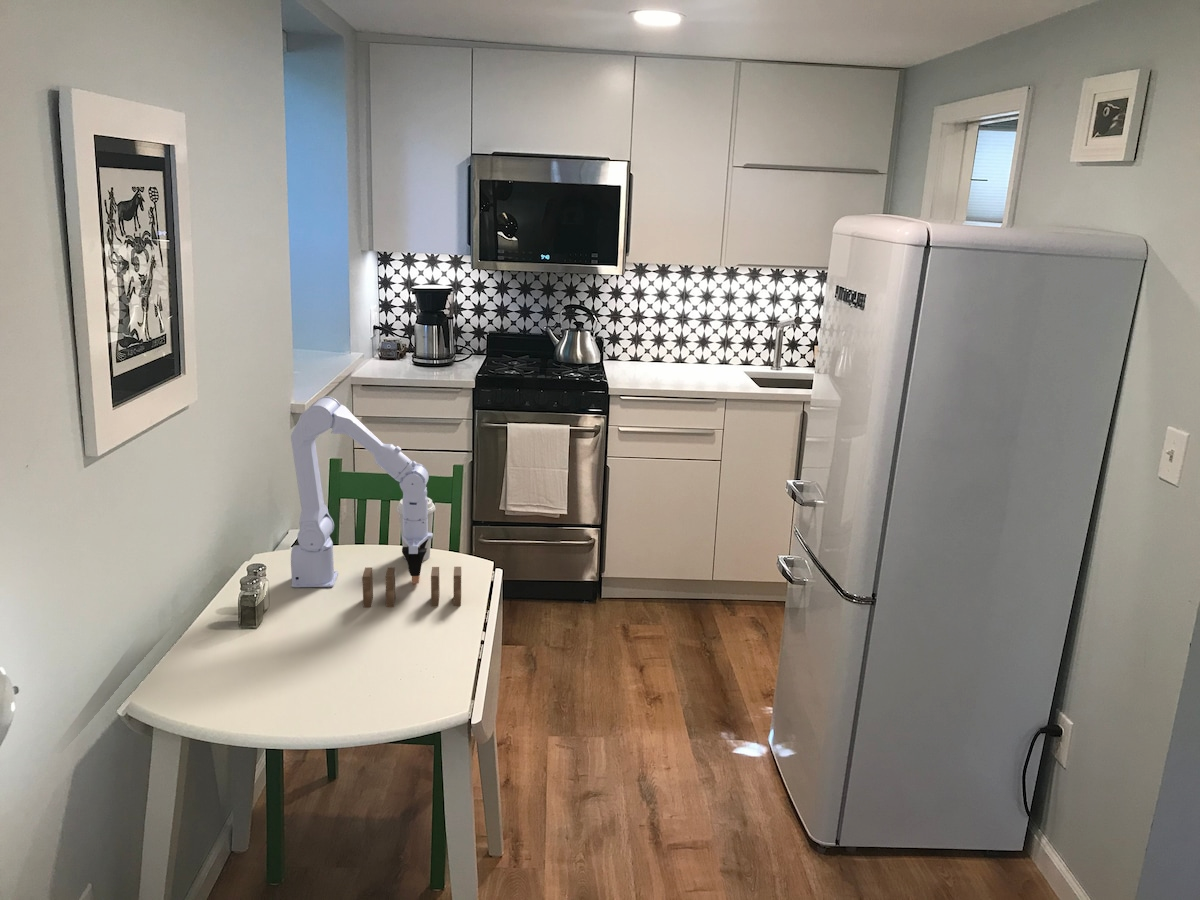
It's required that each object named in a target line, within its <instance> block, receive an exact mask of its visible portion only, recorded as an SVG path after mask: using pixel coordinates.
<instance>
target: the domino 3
mask: <svg viewBox="0 0 1200 900" xmlns="http://www.w3.org/2000/svg"><path fill="white" fill-rule="evenodd" d="M419 548H420V546H419ZM420 578H421V574H420V575H419V576H411V584H419V583H420Z"/></svg>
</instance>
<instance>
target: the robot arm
mask: <svg viewBox="0 0 1200 900" xmlns="http://www.w3.org/2000/svg"><path fill="white" fill-rule="evenodd" d="M330 429H331V431H330V434H338V435H339V434H340V435H341V434H344V435H347V436H348V437H349V438H351V439H352V440H353V441H355V442H356V443H357V444H359V445H360V446H361V447H362V448H364V449H365V450H366V451H368V452H369V453H370V454H372V455H373V458H374V463H375V464H376V465H377V466H378V467H380V468H381V469H382V470H383V471H384V472H385V473H387V474H388V475H389V476H390V477H391V478H392V479H394V480H395V481H397V482H398V483H399V488H400V489H401V491H402V498H401V499H402V500H403V534H402V536H401V539H402V538H403V540H404V541H405V543H406V544H407V546H408V547H403V546H402V548H401V553H402V555H403V557H404V556H405V558H406V559H405V560H406V563H407V568H408V572H409V575H410V576H411V577H412V576H419V575H420V576H421V571H422V566H423V565H422V564H423V561H422V560H423V557H424V555H425V554H426V551H427V548H425V546H426V543H427V541H428V539H429V538H431V539H433V538H434V537H433V535H434V533H433V532H432V533H428V499H427V497H428V487H427V484H428V482H429V479H430V478H429V477H430V476H429V471H428V469H427V468H426V467H425V465H423V464H421V463H418V462H417V461H415V460H411V459H410V458H409V457H408V456H407V455H405V454H404V453H403V452H402V448H401V447H400V446H399V445H397V446H395V445H394V444H393V443H383V442H382V441H381V440H380V439H379V438H378V437H377V436H376V435H375V434H374V433H372V431H371V430H369V429H368V427H367V426H365V425H364V424H363V423H362V422H361V421H360V420H359V419H358V418H357V417H356V416H355V415H354V414H353V413H352V412H351V411H350V410H349V408H348V407H347V406H345V405H344V404H341V403H340V402H339V401H338V400H337V399H336V398H334V397H332V396H328V395H327V396H321V397H320V398H319V399H317V400H316V401H315V402H314V403H313V404H311V405H310V406H309V407H307V409H306V410H304V411H303V412H302V413H301V414H300V415H299V419H298V420H297V422H296V425H295V426H294V428H293V430H292V432H291V434H290V442H291V448H292V454H293V462H294V463H293V464H294V468H295V475H296V476H295V477H296V480H297V488H298V495H299V500H300V501H299V502H300V509H301V511H300V515H299V523H298V524H299V531H298V533H297V539H296V540H297V542H298V545H293V546H292V547H291V553H290V569H291V573H290V574H291V588H333V587H334V585H335V582H336V580H337V577H338V574H339V572H338V571H335V566H334V548H333V547H334V543H333V540H332V538H331V534H332V533H333V532H334V530H335V523H334V520H333V518H332V516H331V515H330V514H329V509H328V506H327V505H326V504H325V502H324V501H325V500H324V494H323V486H322V480H321V479H322V478H321V473H320V466H319V458H318V450H317V445H316V438H318V437H319V435H322V434H324V433H326V432H327V431H328V430H330ZM419 546H420V548H419Z"/></svg>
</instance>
